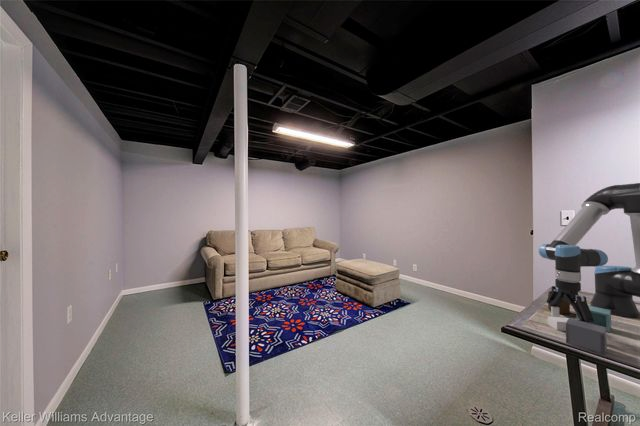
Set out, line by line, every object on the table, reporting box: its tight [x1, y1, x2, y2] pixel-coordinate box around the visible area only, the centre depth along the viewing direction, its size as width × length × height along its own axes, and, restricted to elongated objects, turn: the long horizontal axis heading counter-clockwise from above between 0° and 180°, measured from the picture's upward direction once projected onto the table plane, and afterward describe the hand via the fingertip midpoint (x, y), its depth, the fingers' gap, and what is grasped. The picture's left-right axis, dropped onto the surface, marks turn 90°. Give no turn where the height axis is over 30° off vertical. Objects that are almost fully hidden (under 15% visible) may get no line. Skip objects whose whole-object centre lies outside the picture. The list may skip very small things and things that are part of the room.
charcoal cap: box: [565, 317, 608, 356], centre depth 85 cm, size 7×9×8 cm
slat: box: [547, 316, 580, 332], centre depth 98 cm, size 12×5×4 cm, turn 78°
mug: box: [547, 290, 571, 316], centre depth 113 cm, size 12×8×9 cm, turn 118°
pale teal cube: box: [575, 305, 612, 333], centre depth 100 cm, size 7×9×8 cm
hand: (568, 328), depth 98 cm, fingers open, 13 cm apart
